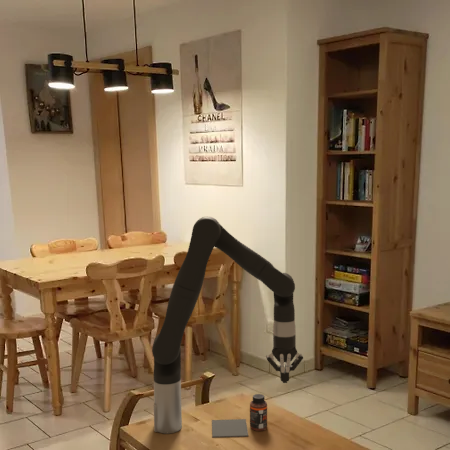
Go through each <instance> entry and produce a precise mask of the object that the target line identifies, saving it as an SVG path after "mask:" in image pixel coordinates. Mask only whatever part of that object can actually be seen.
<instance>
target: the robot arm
mask: <svg viewBox="0 0 450 450" xmlns="http://www.w3.org/2000/svg"><path fill="white" fill-rule="evenodd" d="M214 248H216V249H218V251H221V252H222V253H224V254H225V255H227V256H228V257H229V258H230V259H232V261H233V262H235V264H237V265H238V266H239V267H240V268H242V269H243V270H244V271H245V272H247V273H248V274H249V275H250V276H253V278H255V279H257V280H258V281H260V282H261V283H262V284H264V285H265V286H266V287H267V288H268V289H269V290H270V291H272V292H273V302H274V303H273V325H272V334H273V335H272V336H273V337H272V338H273V339H272V343H273V344H272V345H273V347H272V350H271V353H270V354H266V356H265V357H266V358H265V359H266V360H267V362H268V363H269V364H270V366H272V367H273V369H274V370H275V371H276V372H279V378H280V382H281V383H282V384H288V382H290V372H291V371H295V370H296V369H297V367H298V366H299V365H300V363H301V362H302V361H303V360H304V356H303V354H302V353H299V352H298V349H297V347H296V346H297V345H296V343H297V341H296V340H297V339H296V337H297V336H296V322H295V321H296V320H295V319H296V317H295V316H296V315H295V312H296V311H295V303H294V293H295V290H296V284H295V281H294V278H293V277H292V276H291V275H290V274H289V273H286V272H282V271H281V270H279V269H277V268H276V267H275V266H274V265H273V263H271V261H269V260H267V259H266V258H265V257H263V256H262V255H261V254H258V252H256V251H254V250H253V249H251V248H250V247H248V246H247V245H245V244H244V243H242V242H241V241H240V240H238V239H237V238H236V237H234V236H233V235H232V234H231V233H229V232H228V230H227V229H226V228H224V227H223V226H222V225H221V223H220V222H219V221H218V220H217V219H216V218H214V217H212V216H202V217H201V218H199V219H198V220H197V221H195V223H194V225H193V227H192V231H191V238H190V241H189V245H188V248H187V253H186V256H185V258H184V260H183V262H182V264H181V266H180V268H179V270H178V272H177V275H176V276H175V280H174V283H173V285H172V287H171V291H170V295H169V299H168V302H167V308H166V313H165V318H164V322H163V325H162V327H161V329H160V331H159V333H158V334H157V335H156V336H155V338H154V340H153V343H152V348H151V349H152V350H151V352H152V357H153V397H154V398H153V400H154V401H153V425H154V426H153V428H154V429H153V431H154V432H155V433H156V432H157V433H161V434H173V433H174V434H175V433H177V432H179V431H181V429H182V428H183V423H182V422H183V418H182V417H183V416H182V410H183V409H182V373H181V372H182V362H181V361H182V360H181V359H182V356H181V350H182V349H181V348H182V347H181V346H182V345H181V344H182V340H183V337H184V333H185V330H186V327H187V325H188V322H189V321H190V318H191V316H192V314H193V312H194V309H195V308H196V304H197V302H198V299H199V296H200V294H201V291H202V288H203V285H204V281H205V276H206V270H207V265H208V262H209V259H210V257H211V255H212V252H213V250H214ZM294 358H295V359H294ZM293 359H294V360H293ZM274 360H276V361H277V362H278V364H279V365H278V364H277V363H276V362H275V361H274ZM292 361H293V362H292ZM291 362H292V363H291Z"/></svg>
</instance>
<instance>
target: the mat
mask: <svg viewBox="0 0 450 450" xmlns="http://www.w3.org/2000/svg"><path fill="white" fill-rule="evenodd" d="M211 432H212V433H211V435H212V438H214V439H216V438H240V437H241V438H244V437H247V438H248V437H249V432H248V424H247V419H246V418H236V419H235V418H233V419H230V418H229V419H211Z"/></svg>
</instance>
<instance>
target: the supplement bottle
mask: <svg viewBox="0 0 450 450" xmlns="http://www.w3.org/2000/svg"><path fill="white" fill-rule="evenodd" d="M249 426H250V429H251V430H252V431H255V432H256V431H257V432H263V431H265V430H267V428H268V403H267V401H266V400H265V395H264V394H261V393H255V394H253V395H252V400H251V401H250V403H249Z"/></svg>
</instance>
